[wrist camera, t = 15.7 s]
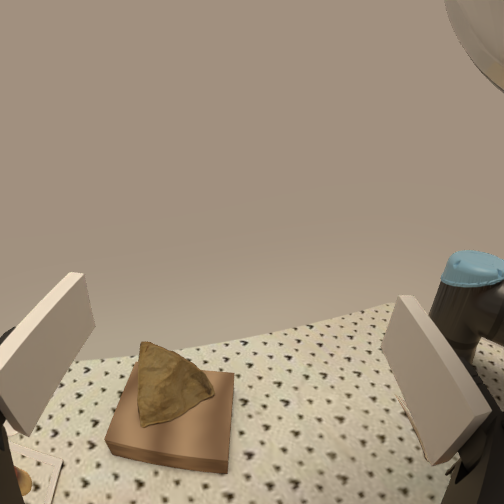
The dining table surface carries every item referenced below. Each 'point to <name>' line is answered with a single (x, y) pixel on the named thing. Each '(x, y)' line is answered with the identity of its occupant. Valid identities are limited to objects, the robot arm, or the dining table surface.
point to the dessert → (24, 477)
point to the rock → (167, 385)
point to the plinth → (177, 430)
